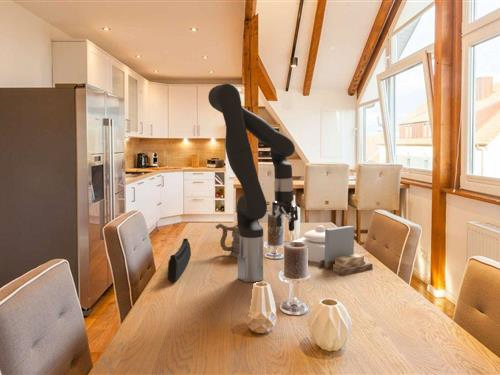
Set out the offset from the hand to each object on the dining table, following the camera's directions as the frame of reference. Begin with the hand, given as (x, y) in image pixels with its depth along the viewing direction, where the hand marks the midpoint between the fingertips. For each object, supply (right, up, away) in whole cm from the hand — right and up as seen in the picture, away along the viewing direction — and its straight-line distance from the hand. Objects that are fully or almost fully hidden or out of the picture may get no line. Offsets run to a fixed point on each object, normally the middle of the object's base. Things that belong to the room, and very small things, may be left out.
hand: (285, 228), depth 171 cm
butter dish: (+17, -16, +21) cm, 32 cm away
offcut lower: (+26, -17, +2) cm, 31 cm away
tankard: (-20, -15, +29) cm, 39 cm away
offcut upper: (+26, -14, +1) cm, 30 cm away
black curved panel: (-43, -18, +4) cm, 47 cm away
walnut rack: (+25, -18, +4) cm, 31 cm away
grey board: (+23, -16, +7) cm, 29 cm away
